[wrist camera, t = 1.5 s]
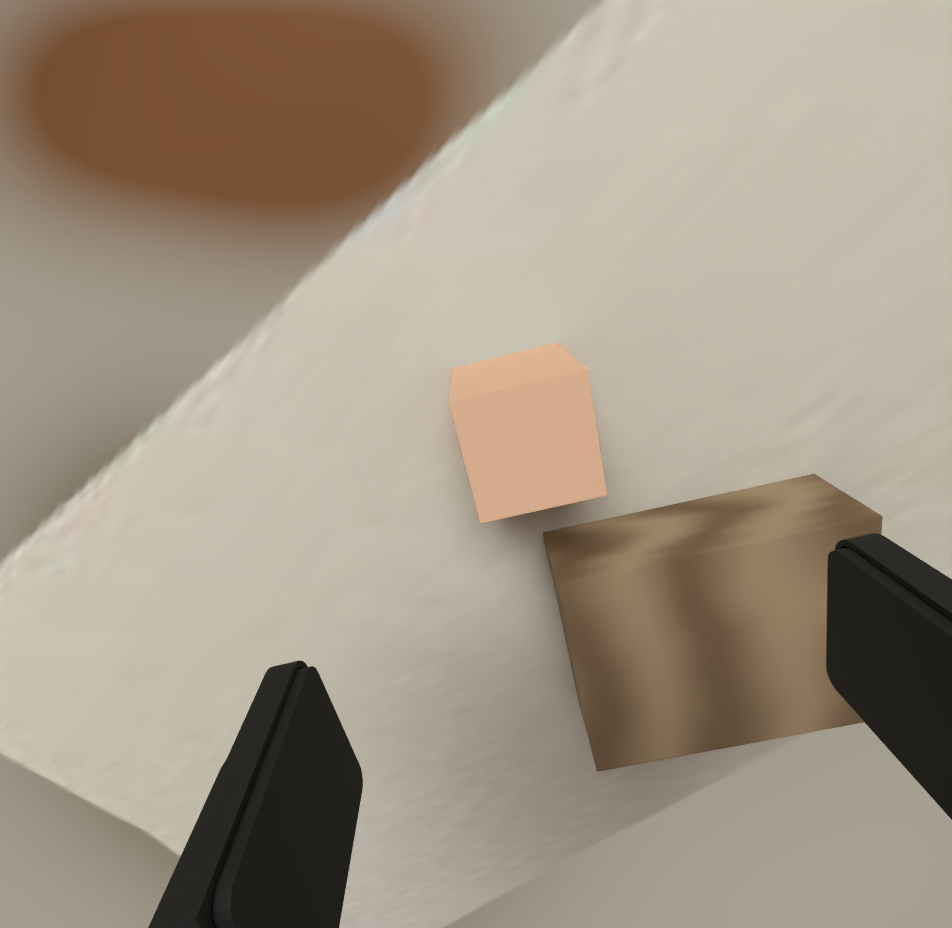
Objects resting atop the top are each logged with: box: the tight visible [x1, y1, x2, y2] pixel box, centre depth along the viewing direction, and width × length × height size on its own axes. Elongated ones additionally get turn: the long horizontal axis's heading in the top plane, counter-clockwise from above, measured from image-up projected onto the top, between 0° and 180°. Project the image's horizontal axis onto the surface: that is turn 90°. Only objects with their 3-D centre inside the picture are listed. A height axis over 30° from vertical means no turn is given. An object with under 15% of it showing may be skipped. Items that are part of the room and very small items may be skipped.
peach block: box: [449, 343, 607, 523], centre depth 22 cm, size 5×5×6 cm
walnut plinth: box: [543, 474, 882, 772], centre depth 27 cm, size 14×12×5 cm
